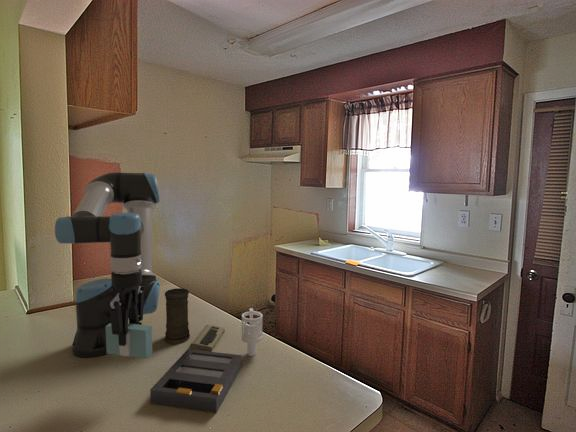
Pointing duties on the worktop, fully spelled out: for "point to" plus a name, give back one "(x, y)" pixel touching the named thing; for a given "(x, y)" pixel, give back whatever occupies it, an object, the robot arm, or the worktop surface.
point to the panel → (131, 340)
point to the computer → (207, 338)
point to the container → (177, 316)
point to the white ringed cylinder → (252, 330)
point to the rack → (197, 381)
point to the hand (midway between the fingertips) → (129, 351)
